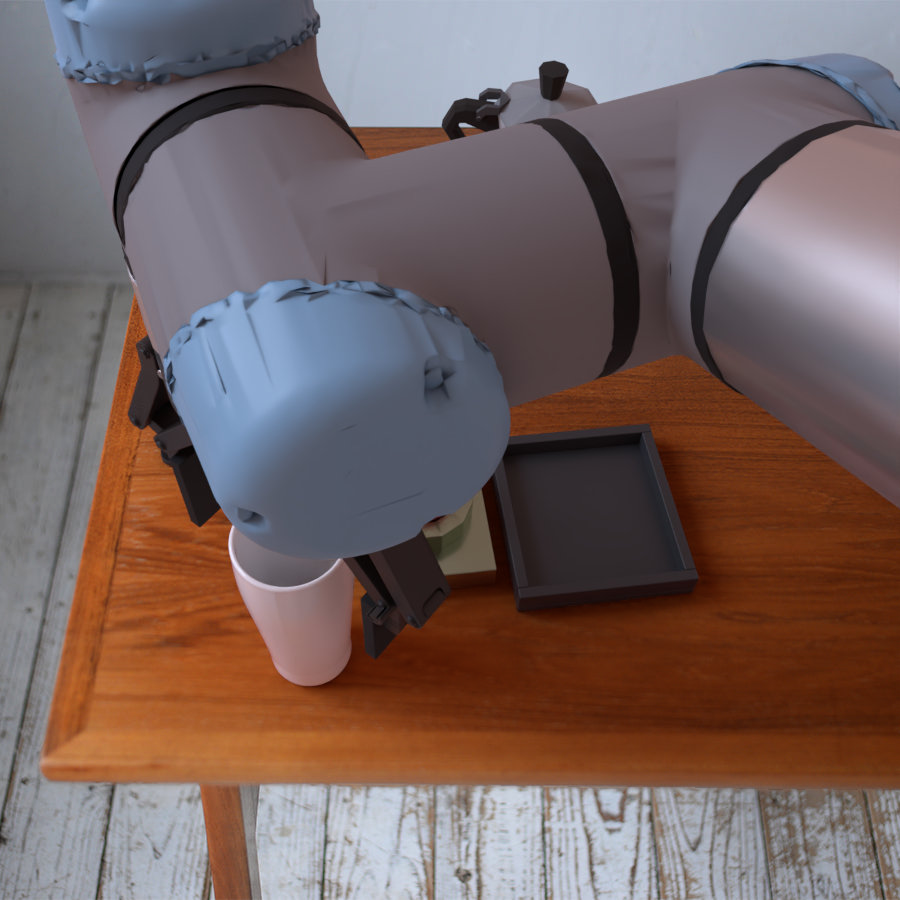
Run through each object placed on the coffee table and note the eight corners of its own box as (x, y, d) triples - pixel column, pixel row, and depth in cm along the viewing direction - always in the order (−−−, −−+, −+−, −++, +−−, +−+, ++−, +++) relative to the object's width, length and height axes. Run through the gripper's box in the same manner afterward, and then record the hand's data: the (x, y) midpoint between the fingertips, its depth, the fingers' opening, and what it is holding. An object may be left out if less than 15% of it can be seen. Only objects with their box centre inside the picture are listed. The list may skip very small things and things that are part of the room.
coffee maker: (600, 219, 91) (636, 42, 77) (600, 284, 86) (637, 108, 71) (443, 205, 92) (449, 27, 77) (433, 269, 86) (437, 91, 72)
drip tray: (692, 592, 68) (699, 578, 66) (517, 612, 67) (520, 598, 65) (643, 439, 76) (649, 423, 74) (486, 454, 75) (488, 437, 73)
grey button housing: (494, 584, 68) (498, 556, 65) (367, 598, 67) (365, 570, 64) (471, 458, 74) (474, 427, 71) (354, 469, 73) (352, 438, 70)
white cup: (294, 720, 62) (266, 615, 50) (242, 640, 65) (203, 523, 53) (382, 662, 64) (375, 550, 52) (328, 588, 67) (310, 465, 55)
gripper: (554, 416, 36) (507, 647, 54) (106, 148, 45) (190, 423, 62) (433, 553, 33) (424, 753, 50) (-30, 234, 41) (100, 501, 58)
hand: (295, 571), depth 56 cm, fingers open, 13 cm apart
